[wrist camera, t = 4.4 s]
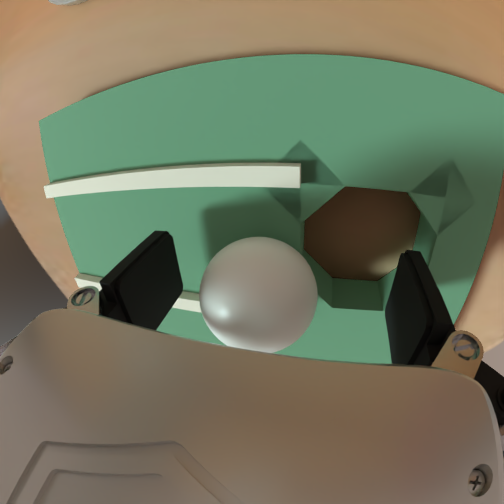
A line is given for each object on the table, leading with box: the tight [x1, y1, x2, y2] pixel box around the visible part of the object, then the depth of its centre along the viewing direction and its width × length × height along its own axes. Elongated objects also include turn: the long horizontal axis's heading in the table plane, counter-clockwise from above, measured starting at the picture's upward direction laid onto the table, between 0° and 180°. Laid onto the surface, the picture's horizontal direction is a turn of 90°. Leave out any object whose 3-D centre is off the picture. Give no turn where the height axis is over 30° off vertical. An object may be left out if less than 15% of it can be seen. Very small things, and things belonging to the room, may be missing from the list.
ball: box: [199, 237, 318, 353], centre depth 10 cm, size 4×4×4 cm
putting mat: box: [39, 54, 504, 364], centre depth 13 cm, size 16×24×3 cm, turn 93°
